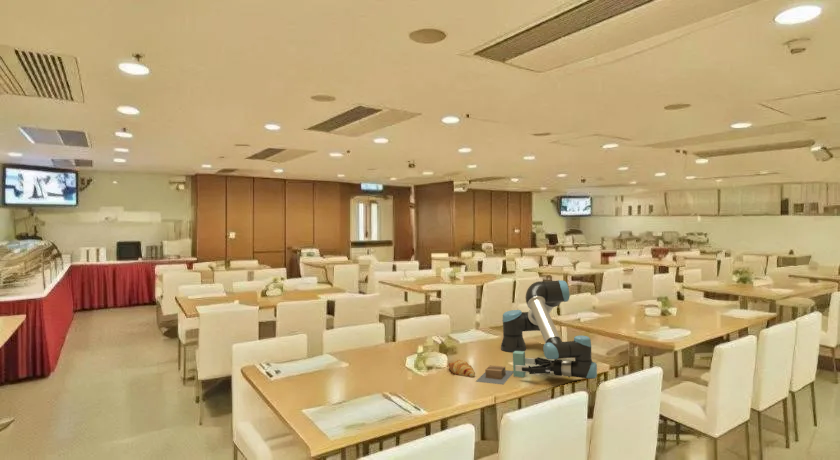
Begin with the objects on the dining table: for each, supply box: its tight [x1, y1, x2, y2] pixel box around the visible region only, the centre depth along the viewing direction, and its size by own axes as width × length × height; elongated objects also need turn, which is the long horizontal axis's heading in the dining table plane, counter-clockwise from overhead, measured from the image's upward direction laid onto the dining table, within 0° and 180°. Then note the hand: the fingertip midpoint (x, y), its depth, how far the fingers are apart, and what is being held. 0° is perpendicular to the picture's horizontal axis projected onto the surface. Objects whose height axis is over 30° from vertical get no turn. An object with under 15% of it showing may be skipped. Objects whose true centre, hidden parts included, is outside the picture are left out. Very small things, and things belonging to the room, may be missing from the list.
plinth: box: [484, 365, 506, 379], centre depth 233 cm, size 8×8×4 cm
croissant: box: [448, 359, 476, 378], centre depth 241 cm, size 21×10×8 cm, turn 34°
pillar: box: [512, 350, 527, 378], centre depth 233 cm, size 5×5×12 cm
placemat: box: [475, 369, 514, 385], centre depth 233 cm, size 22×14×1 cm, turn 154°
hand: (518, 364), depth 232 cm, fingers open, 13 cm apart
